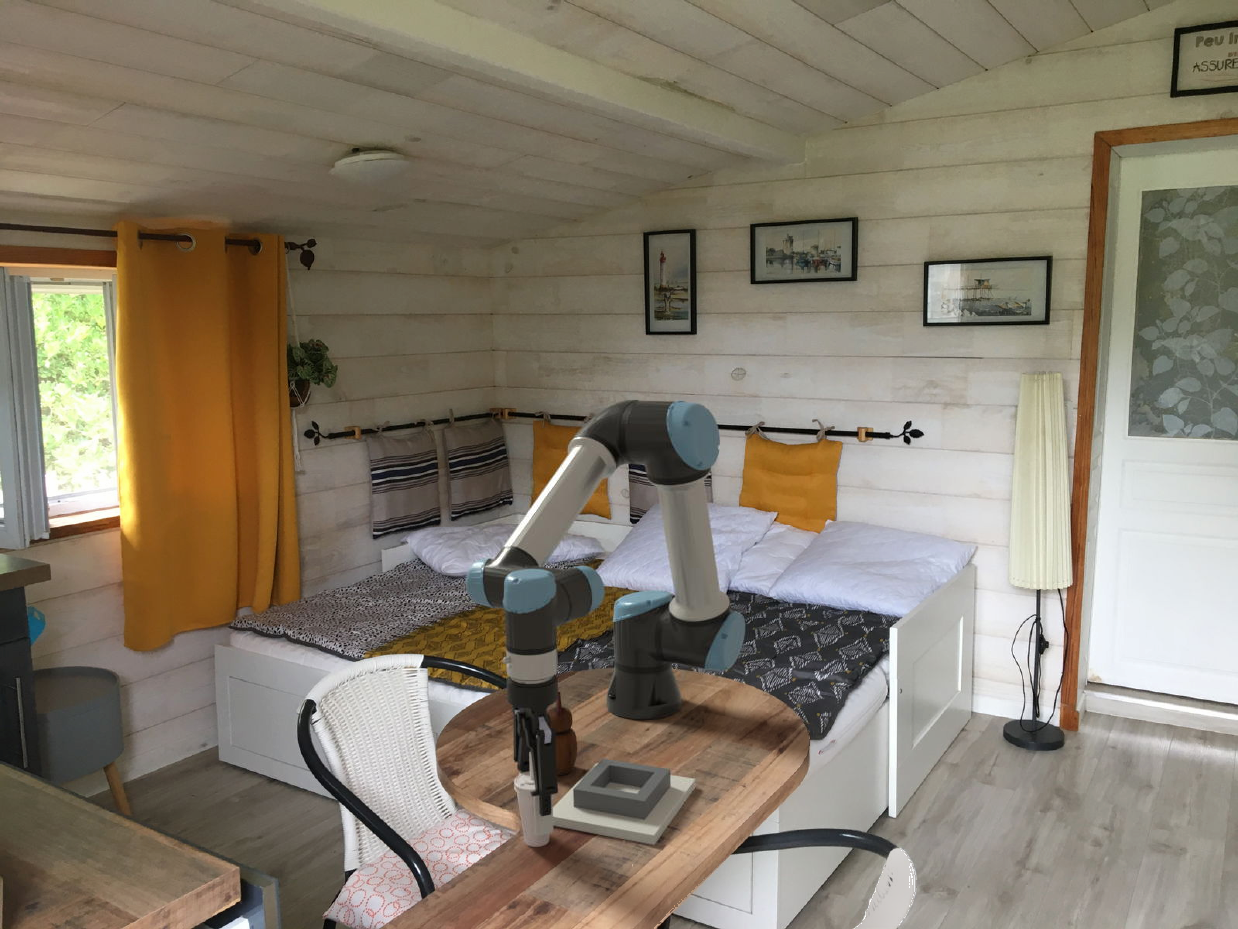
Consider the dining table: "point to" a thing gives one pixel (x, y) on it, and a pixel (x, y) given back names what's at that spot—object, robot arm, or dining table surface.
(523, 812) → the smoothie
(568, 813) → the socket board
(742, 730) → the dining table surface
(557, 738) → the wooden figurine
